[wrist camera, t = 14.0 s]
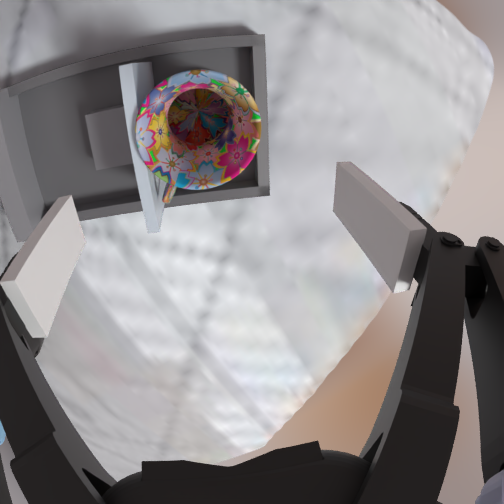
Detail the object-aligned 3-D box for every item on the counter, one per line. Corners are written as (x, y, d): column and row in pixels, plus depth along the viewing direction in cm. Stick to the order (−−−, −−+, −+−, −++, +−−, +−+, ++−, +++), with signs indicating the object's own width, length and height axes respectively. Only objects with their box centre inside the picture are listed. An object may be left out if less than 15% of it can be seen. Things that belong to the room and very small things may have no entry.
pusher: (109, 195, 34) (85, 242, 26) (87, 75, 26) (46, 86, 18) (168, 186, 35) (159, 231, 27) (151, 61, 27) (132, 63, 18)
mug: (175, 53, 27) (164, 51, 18) (258, 88, 30) (283, 101, 21) (132, 157, 32) (109, 198, 23) (210, 184, 36) (215, 233, 27)
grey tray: (33, 221, 34) (17, 242, 30) (-1, 92, 24) (-25, 100, 20) (265, 186, 37) (274, 205, 33) (260, 36, 27) (270, 32, 23)
